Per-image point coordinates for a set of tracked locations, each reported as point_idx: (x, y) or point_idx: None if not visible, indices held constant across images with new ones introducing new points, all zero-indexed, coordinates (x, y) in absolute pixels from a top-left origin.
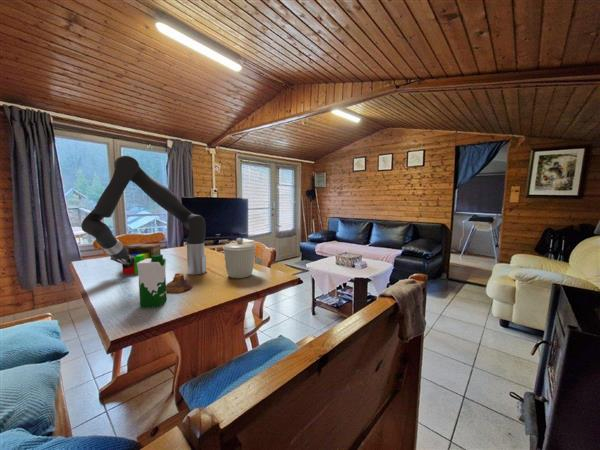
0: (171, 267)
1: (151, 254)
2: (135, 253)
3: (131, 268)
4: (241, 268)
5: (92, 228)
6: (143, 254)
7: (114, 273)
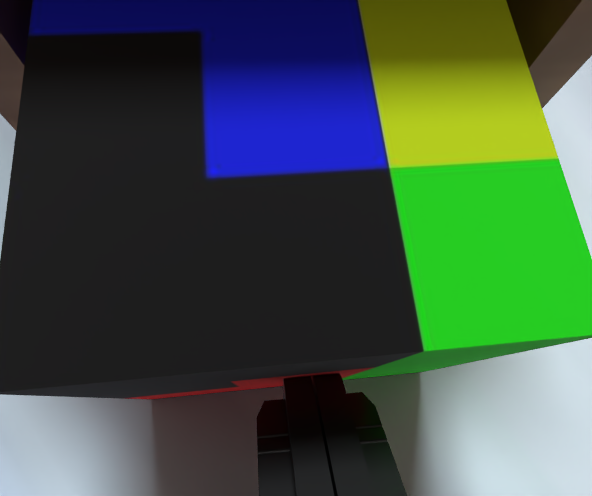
0: None
1: (582, 16)
2: (187, 6)
3: None
4: None
5: None
6: (491, 93)
7: None
